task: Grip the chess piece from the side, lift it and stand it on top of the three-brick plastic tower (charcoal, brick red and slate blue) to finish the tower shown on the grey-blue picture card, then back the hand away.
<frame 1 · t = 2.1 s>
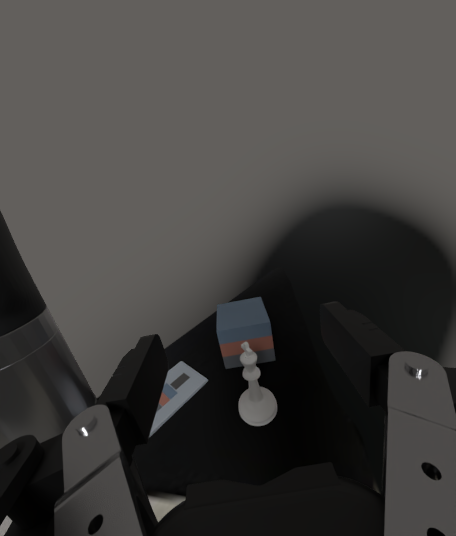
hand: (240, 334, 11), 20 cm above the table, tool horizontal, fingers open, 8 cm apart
picture card: (168, 393, 32), on the table
chess piece: (257, 407, 28), on the table
brick tower: (247, 347, 38), on the table
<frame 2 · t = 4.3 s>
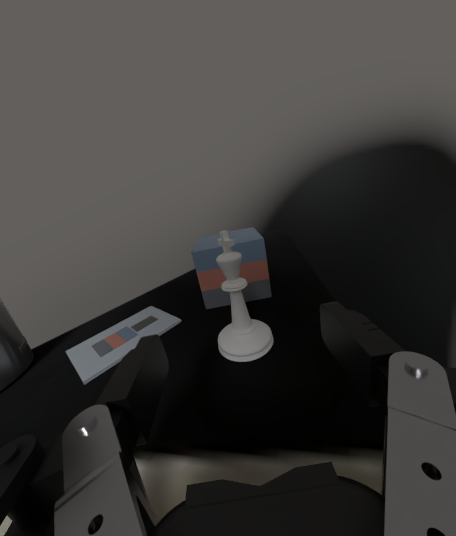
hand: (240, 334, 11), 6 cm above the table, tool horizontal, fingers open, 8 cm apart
picture card: (126, 337, 24), on the table
chess piece: (245, 343, 19), on the table
brick tower: (236, 289, 30), on the table
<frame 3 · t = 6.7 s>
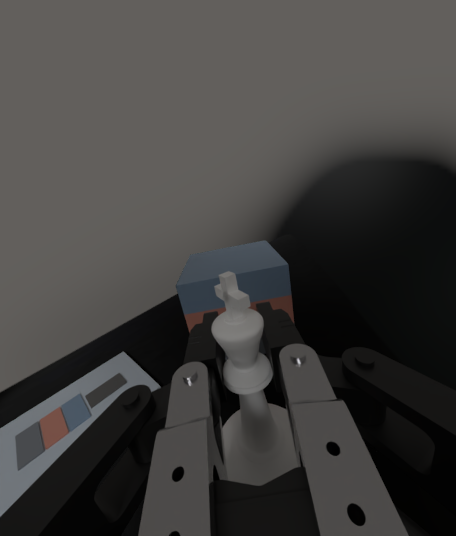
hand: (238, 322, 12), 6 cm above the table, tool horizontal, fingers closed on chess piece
picture card: (74, 416, 15), on the table
chess piece: (264, 459, 11), on the table, touching gripper
brick tower: (242, 327, 21), on the table
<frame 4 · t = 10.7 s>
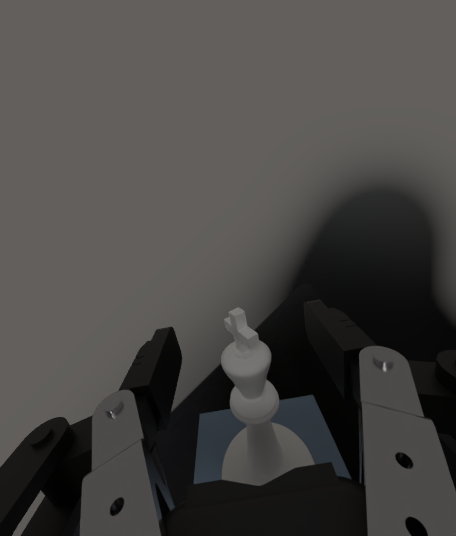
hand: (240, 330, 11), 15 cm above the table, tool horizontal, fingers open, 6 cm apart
chess piece: (269, 479, 11), point 7 cm above the table, touching brick tower
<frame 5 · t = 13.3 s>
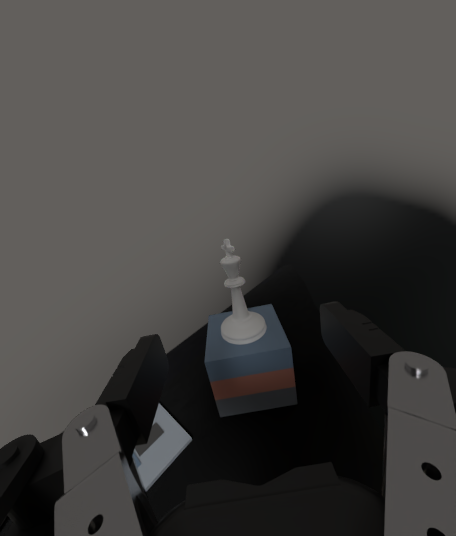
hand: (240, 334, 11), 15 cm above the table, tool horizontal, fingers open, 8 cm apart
picture card: (126, 462, 20), on the table
chess piece: (243, 330, 24), point 7 cm above the table, touching brick tower
brick tower: (253, 378, 26), on the table
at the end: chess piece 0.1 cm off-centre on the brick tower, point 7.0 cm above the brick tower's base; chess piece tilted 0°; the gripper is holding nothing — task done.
